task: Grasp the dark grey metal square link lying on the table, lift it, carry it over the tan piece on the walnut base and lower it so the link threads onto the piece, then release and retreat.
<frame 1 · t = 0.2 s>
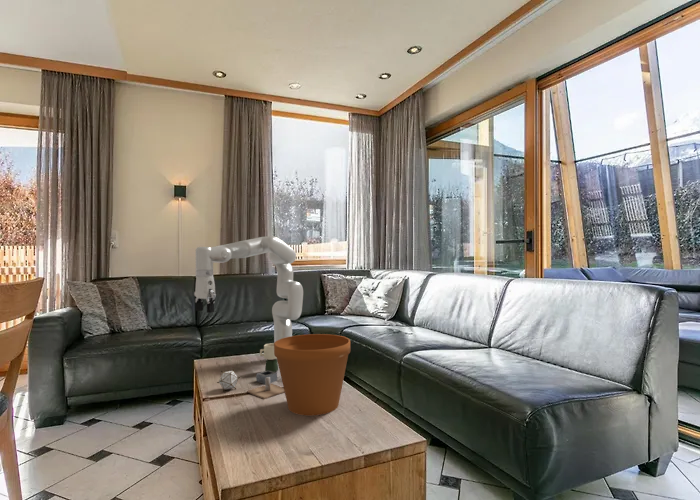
hand: (204, 311, 178), 31 cm above the table, fingers open, 9 cm apart
character mug: (271, 372, 188), on the table
link: (266, 381, 174), on the table
game die: (228, 390, 164), on the table
flowerpot: (313, 406, 144), on the table
tan piece: (267, 391, 160), on the table
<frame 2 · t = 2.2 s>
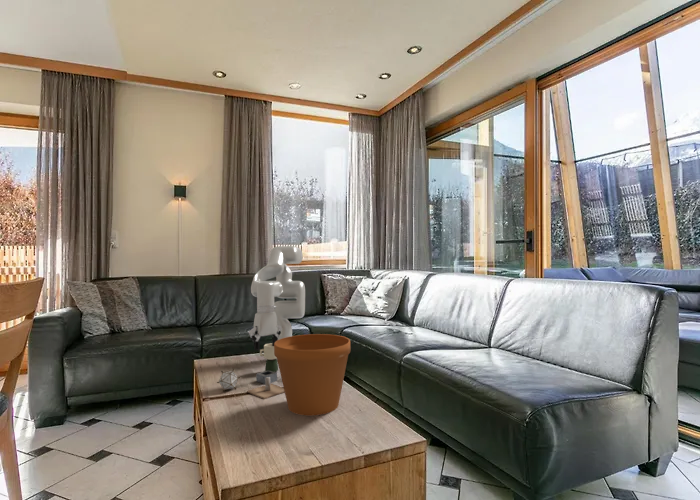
hand: (266, 348, 174), 15 cm above the table, fingers open, 9 cm apart
nothing on the table moved.
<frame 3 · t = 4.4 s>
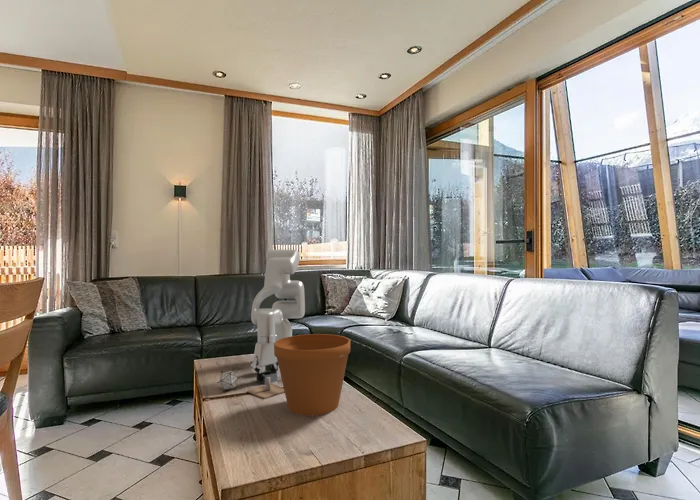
hand: (266, 379, 174), 1 cm above the table, fingers closed on link, 6 cm apart
link: (266, 381, 174), on the table, touching gripper
everything else where it was.
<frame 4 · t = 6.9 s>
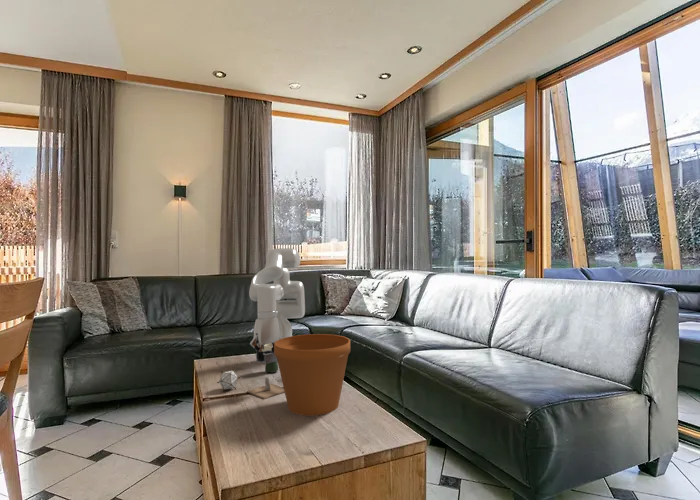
hand: (267, 358, 160), 13 cm above the table, fingers closed on link, 6 cm apart
link: (267, 360, 160), point 13 cm above the table, touching gripper
everything else where it was.
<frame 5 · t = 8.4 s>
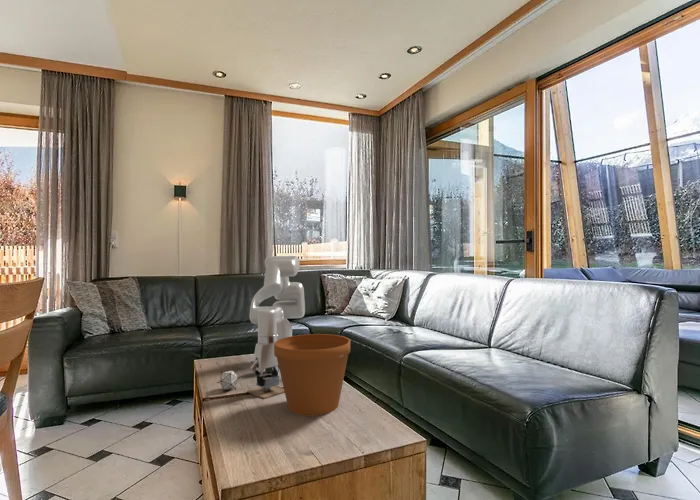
hand: (267, 383, 160), 4 cm above the table, fingers closed on link, 6 cm apart
link: (267, 385, 160), point 3 cm above the table, touching gripper
everything else where it was.
when the fingers open (3 cm above the table, at t = 9.4 s): link drops 1 cm, resting on tan piece.
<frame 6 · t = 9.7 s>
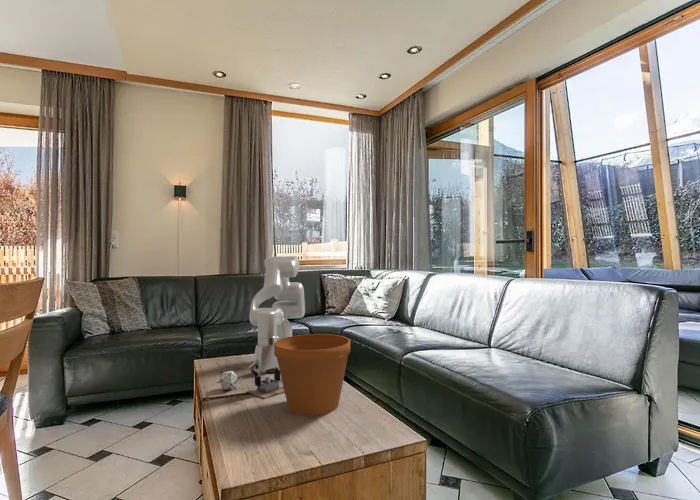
hand: (267, 383, 160), 4 cm above the table, fingers open, 9 cm apart
link: (267, 390, 160), point 1 cm above the table, touching tan piece
everything else where it was.
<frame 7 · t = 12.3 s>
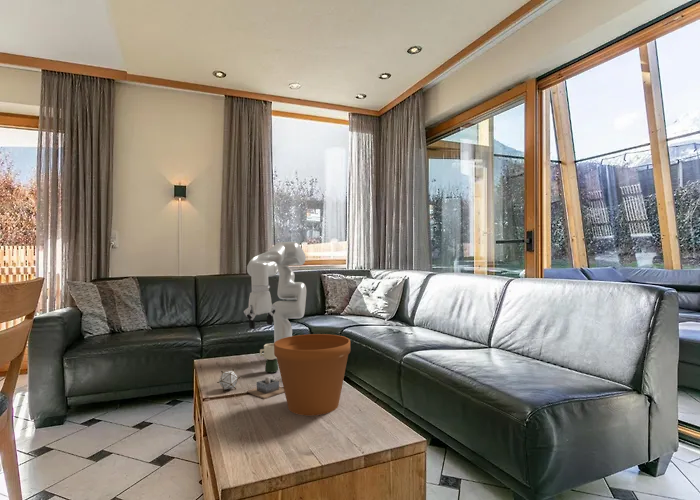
hand: (261, 326, 178), 24 cm above the table, fingers open, 9 cm apart
nothing on the table moved.
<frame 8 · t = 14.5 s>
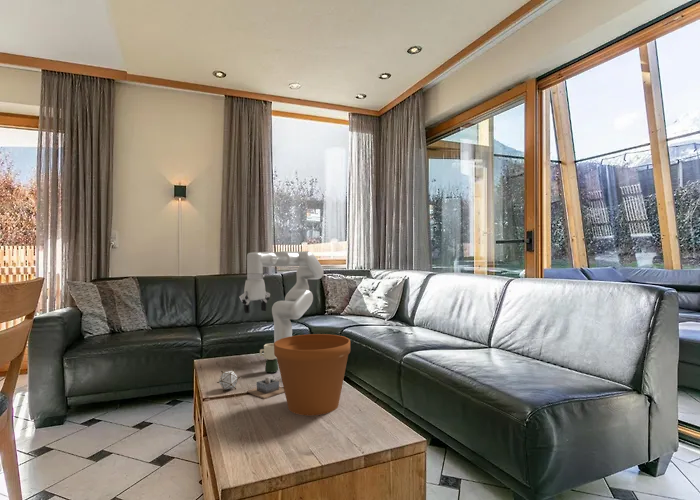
hand: (255, 311, 194), 28 cm above the table, fingers open, 9 cm apart
nothing on the table moved.
at the end: link 0.0 cm off-centre on the tan piece, point 0.6 cm above the tan piece's base; the gripper is holding nothing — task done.
